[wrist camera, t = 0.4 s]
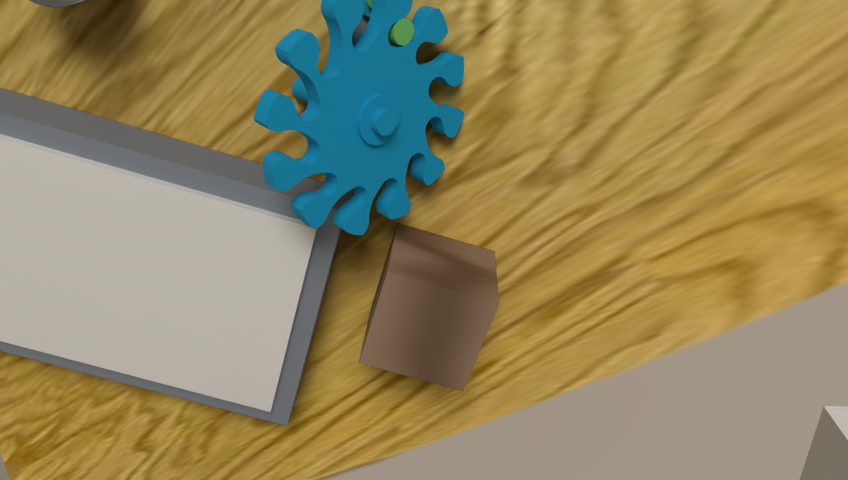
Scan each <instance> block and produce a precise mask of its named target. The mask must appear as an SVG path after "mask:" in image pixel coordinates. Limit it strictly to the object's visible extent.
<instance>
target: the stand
mask: <svg viewBox="0 0 848 480" xmlns="http://www.w3.org/2000/svg"><path fill="white" fill-rule="evenodd" d="M323 185H324V182H321V181H318V180H314V179H311V178H307V177H306V178H304V179H302V180H301V181H299V182H298V183H297V184H296V185H294V186H293V187H292V188H291V189H289V190H287V191H278V190H276V189H274V188H273V187H271V186H269V185H268V184H266V183H265V178H264V173H263V164H259V163H256V162H253V161H249V160H246V159H242V158H239V157H236V156H232V155H229V154H225V153H222V152H218V151H215V150H212V149H208V148H205V147H201V146H198V145H195V144H191V143H188V142H184V141H181V140H177V139H174V138H171V137H167V136H164V135H160V134H157V133H154V132H150V131H147V130H143V129H140V128H136V127H133V126H130V125H126V124H123V123H119V122H116V121H113V120H109V119H106V118H102V117H99V116H95V115H92V114H89V113H85V112H82V111H78V110H75V109H72V108H68V107H65V106H61V105H58V104H54V103H51V102H48V101H44V100H41V99H37V98H34V97H31V96H27V95H24V94H20V93H17V92H13V91H10V90H7V89H3V88H0V351H3V352H7V353H10V354H14V355H18V356H22V357H26V358H29V359H33V360H37V361H41V362H45V363H49V364H52V365H56V366H60V367H64V368H68V369H71V370H75V371H79V372H83V373H87V374H91V375H94V376H98V377H102V378H106V379H110V380H113V381H117V382H121V383H125V384H129V385H133V386H136V387H140V388H144V389H148V390H152V391H155V392H159V393H163V394H167V395H171V396H175V397H178V398H182V399H186V400H190V401H194V402H197V403H201V404H205V405H209V406H213V407H217V408H220V409H224V410H228V411H232V412H236V413H239V414H243V415H247V416H251V417H255V418H258V419H262V420H266V421H270V422H274V423H278V424H281V425H285V426H287V425H288V422H289V419H290V416H291V413H292V410H293V407H294V404H295V401H296V398H297V395H298V391H299V387H300V384H301V380H302V376H303V373H304V369H305V365H306V362H307V358H308V354H309V351H310V347H311V343H312V339H313V336H314V332H315V328H316V325H317V321H318V317H319V314H320V310H321V306H322V302H323V299H324V295H325V291H326V288H327V284H328V280H329V277H330V273H331V269H332V266H333V262H334V258H335V254H336V251H337V247H338V243H339V240H340V236H341V232H342V229H341V228H340V227H338V226H336V225H335V224H334V223H333V216H334V214H335V212H336V210H337V209H338V208H339V207H340V206H341V205H343V204H344V203H346V202H348V201H349V200H350V199H351V195H352V192H353V191H352V190H350V191H348V192H347V193H345V194H344V195H343V196H341V197H340V198H339V199H338V200H337V202H336V203H335V204H334V205H333V207H332V209H331V210H330V212H329V214H328V216H327V219H326V220H325V222H324V223H323V224H322V225H321V226H320V227H318V228H316V229H313V228H312V227H310V226H308V225H307V224H305V223H304V222H302V221H301V220H300V219H299V218H298V217H297V216H296V214H295V213H294V212H293V210H292V208H291V201H292V200H293V198H294V197H295V196H296V195H297V194H299V193H301V192H305V191H316V190H319V189H320V188H321V187H322V186H323Z"/></svg>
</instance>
